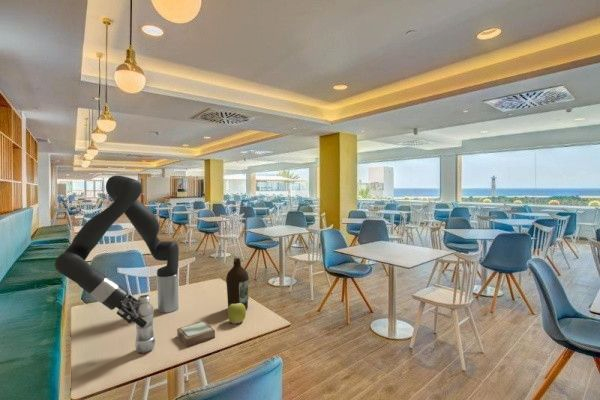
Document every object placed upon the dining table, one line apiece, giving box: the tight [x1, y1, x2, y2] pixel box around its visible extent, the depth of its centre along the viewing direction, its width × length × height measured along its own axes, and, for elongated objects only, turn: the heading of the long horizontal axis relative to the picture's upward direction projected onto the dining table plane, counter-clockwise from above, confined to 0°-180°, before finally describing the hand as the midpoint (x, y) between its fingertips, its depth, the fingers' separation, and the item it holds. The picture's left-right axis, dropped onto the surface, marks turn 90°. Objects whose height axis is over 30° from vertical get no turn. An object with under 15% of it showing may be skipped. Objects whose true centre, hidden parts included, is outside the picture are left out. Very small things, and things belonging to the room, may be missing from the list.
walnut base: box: [176, 320, 216, 348], centre depth 123 cm, size 11×11×3 cm
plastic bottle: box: [134, 294, 156, 354], centre depth 112 cm, size 6×7×20 cm
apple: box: [226, 301, 247, 325], centre depth 136 cm, size 8×8×10 cm
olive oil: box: [225, 256, 250, 311], centre depth 149 cm, size 11×11×25 cm
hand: (146, 320), depth 113 cm, fingers open, 8 cm apart
